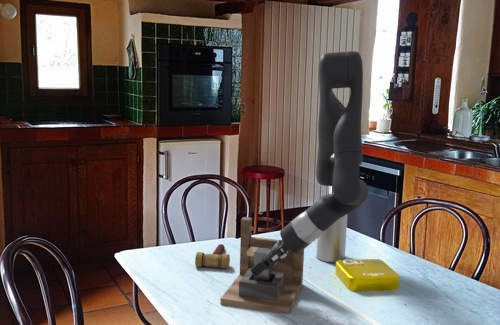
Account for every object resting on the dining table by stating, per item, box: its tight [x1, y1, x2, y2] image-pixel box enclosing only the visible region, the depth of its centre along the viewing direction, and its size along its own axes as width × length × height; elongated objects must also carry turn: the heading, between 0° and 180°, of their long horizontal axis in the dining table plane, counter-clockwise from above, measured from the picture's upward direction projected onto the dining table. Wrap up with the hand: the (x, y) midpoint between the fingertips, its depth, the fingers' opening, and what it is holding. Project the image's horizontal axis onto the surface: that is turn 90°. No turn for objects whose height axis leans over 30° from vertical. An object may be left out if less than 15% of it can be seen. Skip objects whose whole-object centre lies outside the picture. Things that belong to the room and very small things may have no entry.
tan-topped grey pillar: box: [247, 247, 272, 283], centre depth 141 cm, size 4×6×10 cm, turn 75°
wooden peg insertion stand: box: [219, 216, 305, 315], centre depth 143 cm, size 20×18×18 cm
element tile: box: [334, 258, 400, 292], centre depth 156 cm, size 15×15×5 cm
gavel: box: [194, 243, 231, 270], centre depth 171 cm, size 21×5×10 cm
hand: (255, 270), depth 142 cm, fingers closed on tan-topped grey pillar, 4 cm apart
